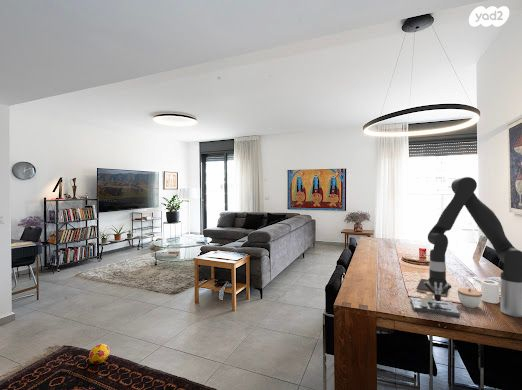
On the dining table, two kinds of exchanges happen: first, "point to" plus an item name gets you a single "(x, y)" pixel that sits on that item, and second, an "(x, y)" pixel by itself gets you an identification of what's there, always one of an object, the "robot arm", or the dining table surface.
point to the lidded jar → (469, 297)
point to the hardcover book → (423, 288)
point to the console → (435, 307)
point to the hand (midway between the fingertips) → (437, 300)
